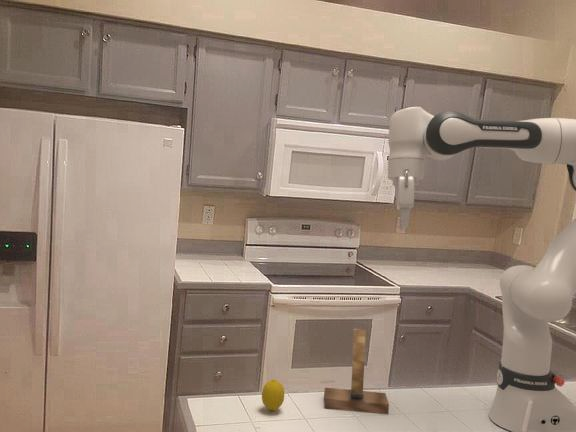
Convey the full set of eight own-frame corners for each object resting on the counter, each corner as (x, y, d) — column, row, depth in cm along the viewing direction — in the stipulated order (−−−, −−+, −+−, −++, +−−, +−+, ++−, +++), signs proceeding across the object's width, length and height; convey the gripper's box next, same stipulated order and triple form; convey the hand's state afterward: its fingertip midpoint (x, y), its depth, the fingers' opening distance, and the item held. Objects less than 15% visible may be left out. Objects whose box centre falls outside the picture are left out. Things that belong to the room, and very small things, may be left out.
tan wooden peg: (362, 397, 134) (364, 330, 139) (363, 398, 131) (366, 329, 136) (350, 396, 134) (353, 329, 139) (351, 397, 131) (354, 328, 136)
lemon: (280, 417, 126) (282, 385, 125) (258, 414, 127) (260, 381, 126) (285, 407, 131) (287, 376, 130) (263, 404, 132) (265, 373, 131)
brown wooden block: (384, 402, 138) (385, 392, 138) (388, 414, 131) (389, 403, 131) (324, 396, 139) (324, 386, 139) (324, 408, 132) (325, 398, 132)
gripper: (420, 167, 120) (419, 227, 120) (416, 176, 140) (415, 227, 140) (392, 167, 121) (391, 226, 121) (392, 175, 141) (391, 227, 141)
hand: (404, 227), depth 131 cm, fingers open, 8 cm apart
